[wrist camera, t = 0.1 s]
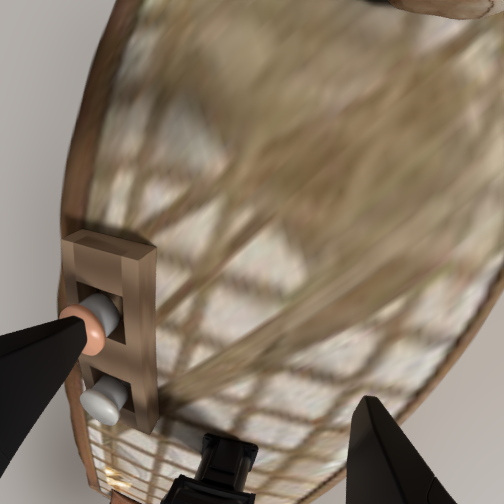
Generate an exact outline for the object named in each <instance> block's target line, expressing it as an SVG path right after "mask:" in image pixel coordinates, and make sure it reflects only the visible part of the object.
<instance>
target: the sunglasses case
mask: <svg viewBox="0 0 504 504" xmlns="http://www.w3.org/2000/svg"><path fill="white" fill-rule="evenodd" d="M111 490H112V497H111V502H110V504H141V503H139V502H137V501H135V500H133V499H131V498H129V497H127V496H125V495H123V494H121V493H119V492H117V491H115V490H113V489H111Z"/></svg>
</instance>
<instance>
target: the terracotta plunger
mask: <svg viewBox="0 0 504 504" xmlns="http://www.w3.org/2000/svg"><path fill="white" fill-rule="evenodd" d="M73 315H74V316H77V317H80V318H82V319H83V320H84V322H85V326H86V332H87V344H86V346H85V348H84V349H83V351H82V353H83V354H86V355H90V356H93V355H96V354H98V353H99V352H100V351H101V350H102V349H103V348H104V346H105V344H106V337H107V336H108V335H109V334H110V333H111V332H112V331H113V330H114V329H115V328H116V327H117V326H118V324H119V322H120V316H119V312H118V310H117V308H116V306H115V304H114V303H113V302H112V301H111V300H110V299H109V298H108V297H107V296H105V295H103V294H100V293H93V294H91V295H90V296H88V297H87V298H86V299H85V300H83V301H82V302H81V303H80V304H71V305H69V306H68V307H67V308H65V309H64V310H63V311H62V312H61V314H60V318H59V319H62V318H65V317H69V316H73Z"/></svg>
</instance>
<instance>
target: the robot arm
mask: <svg viewBox="0 0 504 504" xmlns="http://www.w3.org/2000/svg"><path fill="white" fill-rule="evenodd" d="M86 344H87V332H86V326H85V322H84V320H83V319H82V318H80V317H77V316H74V315H73V316H69V317H65V318H62V319H58V320H55V321H51V322H48V323H44V324H41V325H37V326H33V327H30V328H26V329H23V330H19V331H16V332H12V333H8V334H5V335H1V336H0V478H1V476H2V475H3V473H4V471H5V469H6V468H7V466H8V465H9V463H10V461H11V460H12V458H13V456H14V455H15V453H16V452H17V450H18V448H19V447H20V445H21V444H22V442H23V441H24V439H25V438H26V436H27V435H28V433H29V432H30V430H31V429H32V427H33V426H34V424H35V423H36V421H37V419H38V418H39V416H40V415H41V414H42V412H43V411H44V409H45V408H46V406H47V405H48V404H49V402H50V401H51V399H52V398H53V396H54V395H55V394H56V392H57V391H58V389H59V388H60V387H61V385H62V384H63V383H64V381H65V380H66V378H67V377H68V375H69V373H70V372H71V370H72V368H73V366H74V365H75V363H76V361H77V360H78V358H79V356H80V354H81V353H82V351H83V349H84V348H85V346H86ZM258 449H259V448H258V447H257V446H253V445H249V444H245V443H240V442H236V441H232V440H229V439H225V438H221V437H217V436H214V435H210V434H205V435H204V437H203V448H202V460H201V462H200V465H199V467H198V470H197V472H196V475H195V478H194V479H192V478H189V477H186V476H185V475H182V474H180V476H179V477H178V478H175V480H174V482H173V484H172V486H171V488H170V490H169V491H168V493H167V494H166V495H165V496H164V498H163V499H162V500H161V502H160V504H254V501H255V496H256V494H253V493H251V494H250V493H245V492H243V490H244V486H245V482H246V478H247V474H248V472H250V471H251V469H252V466H253V464H254V461H255V458H256V456H257V453H258ZM434 476H435V475H434V473H433V472H432V471H431V469H430V468H429V466H428V465H427V464H426V462H425V461H424V460H423V458H422V457H421V456H420V454H419V453H418V451H417V450H416V449H415V447H414V446H413V445H412V443H411V442H410V441H409V439H408V438H407V437H406V435H405V434H404V433H403V431H402V430H401V428H400V427H399V426H398V424H397V423H396V422H395V420H394V419H393V418H392V416H391V415H390V413H389V412H388V411H387V409H386V408H385V407H384V405H383V404H382V403H381V401H380V400H379V399H378V398H377V397H375V396H367V395H366V396H363V397H362V399H361V401H360V402H359V404H358V406H357V408H356V409H355V411H354V413H353V416H352V421H351V431H350V440H349V448H348V456H347V479H346V481H347V482H346V504H457V503H456V502H455V501H454V499H453V498H452V497H451V496H450V495H449V493H448V492H447V491H446V490H445V488H444V487H443V486H442V484H441V483H440V482H439V480H438V479H437V477H434Z"/></svg>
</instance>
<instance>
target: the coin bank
mask: <svg viewBox="0 0 504 504" xmlns="http://www.w3.org/2000/svg"><path fill="white" fill-rule="evenodd" d="M389 2H390V4H391V5H392V6H394V7H396V8H398V9H401V10H405V11H409V12H413V13H418V14H427V15H436V16H441V17H446V18H450V19H457V20H466V19H479V18H483V17H487V16H491V15H494V14H497V13H500V12H502V11H504V0H389Z"/></svg>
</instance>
